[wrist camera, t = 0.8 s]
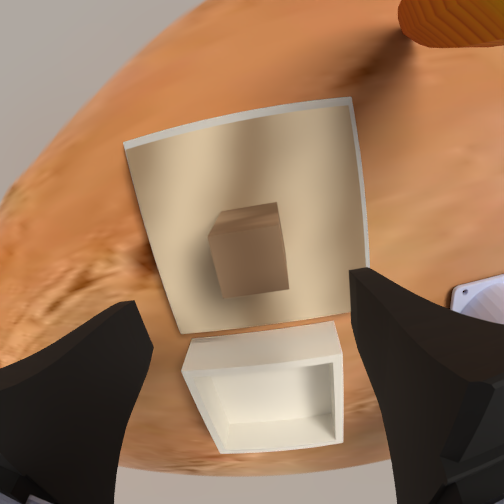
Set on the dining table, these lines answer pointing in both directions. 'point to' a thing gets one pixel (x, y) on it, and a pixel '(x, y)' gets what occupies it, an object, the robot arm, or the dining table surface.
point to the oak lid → (254, 218)
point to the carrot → (453, 22)
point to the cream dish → (269, 388)
